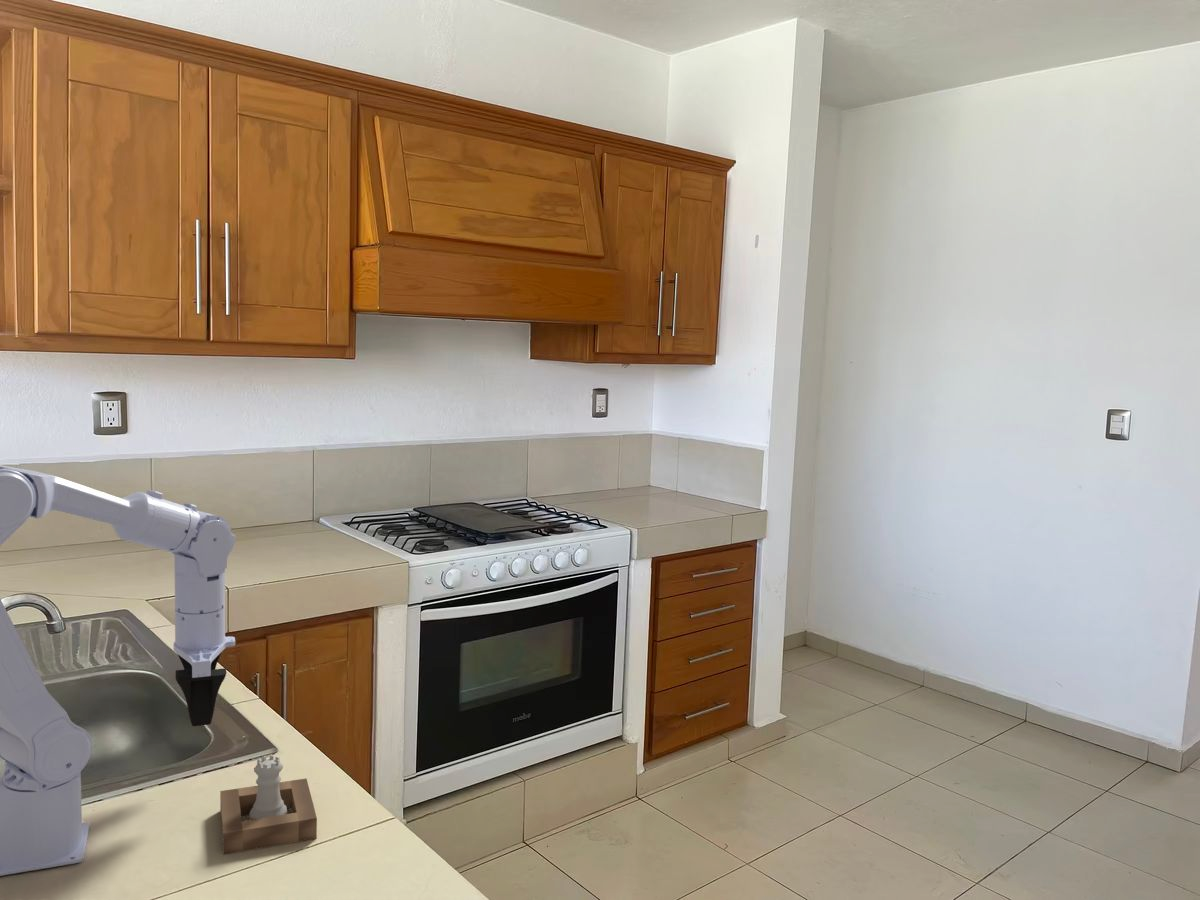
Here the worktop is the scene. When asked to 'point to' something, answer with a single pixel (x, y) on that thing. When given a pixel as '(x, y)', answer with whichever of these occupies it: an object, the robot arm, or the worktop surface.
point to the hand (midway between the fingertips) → (200, 711)
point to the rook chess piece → (268, 789)
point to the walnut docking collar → (267, 818)
